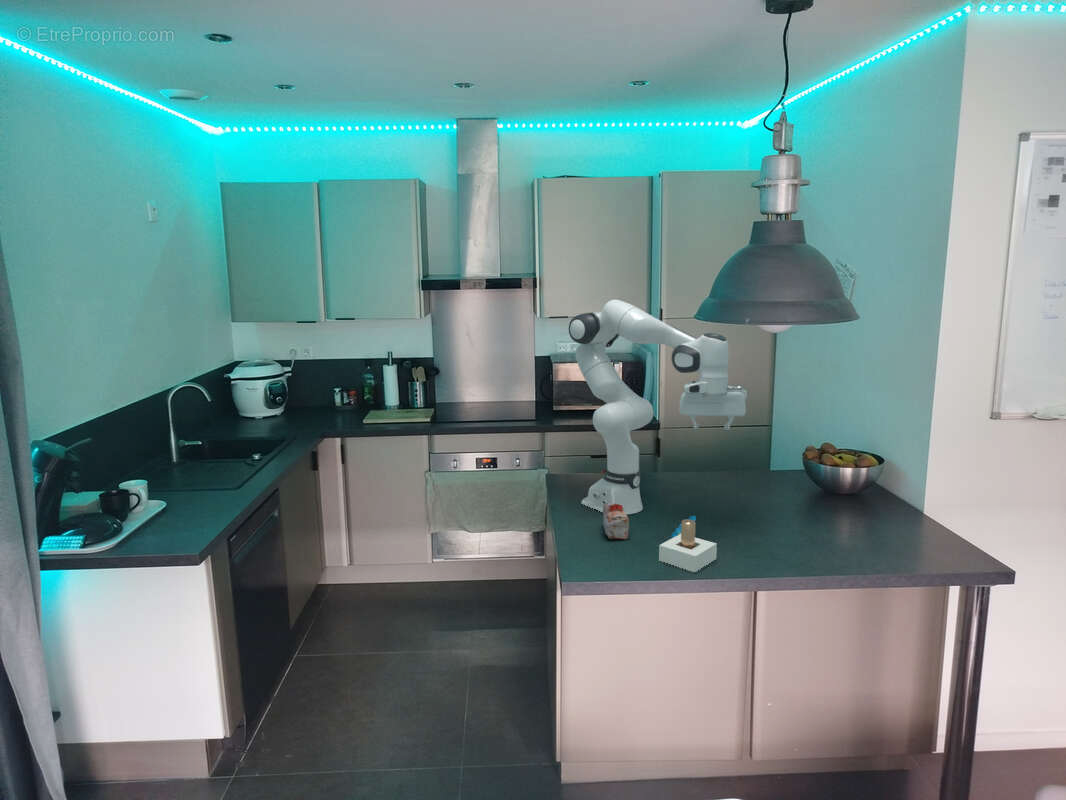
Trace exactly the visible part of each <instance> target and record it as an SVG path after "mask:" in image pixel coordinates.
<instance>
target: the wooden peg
mask: <svg viewBox="0 0 1066 800" xmlns="http://www.w3.org/2000/svg"><path fill="white" fill-rule="evenodd" d="M680 524H681V547H684V548H688V549H691V550H692V549H693V548H695V537H696V520H695V521H694V520H690V519H689V518H686V519H682V520H681V523H680Z"/></svg>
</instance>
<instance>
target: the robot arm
mask: <svg viewBox="0 0 1066 800" xmlns="http://www.w3.org/2000/svg"><path fill="white" fill-rule="evenodd" d="M568 334H569V336H570V339H571V340H572V341H574V342H575V343H577V344H579V345H578V346H577V348H576V350H575V352H574V355H575V356H574V357H575V360H576V364H577V365H578V368H579V370H580V372H581V375H582V377H583V378H584V380H585V382H586V383H587V385H588V388H589V390H590V391H591V393H592V394H593V396H595V398H597V399H600V400H602V401H603V402H604V403H605V404H603V405H602V406H600V407H598V408H597V409H595V411H594V412H593V415H592V424H593V427H594V429H595V431H597V433H598V434H600V435H601V436H602V438H603V440H604V442H605V446H606V454H607V455H606V459H607V460H606V462H607V463H606V464H607V466H606V468H605V469H603V470H601V471H600V472H601V473H600V474H601V475H602V474H603V477H602V478H601V479H599V480H598V481H597V482H595V483H594V484H592V485H591V486H590V487H589V489H588V491H587V492H588V493H587V496H586V497H585V498H583V499H582V500H581V502H580V503H581V505H582V504H583V505H582V506H584V505H585V506H584V507H587V506H588V507H587V508H589V507H590V509H592V508H593V509H592V510H594V509H596V510H598V511H597V512H599V511H600V513H601V512H602V513H601V514H603V505H604V504H608V503H618V504H620V505H622V507H623V509H625V510H624V511H625V513H626V514H627V515H632V514H634V515H635V514H637V513H639V512H642V510H643V509H644V508H643V507H644V506H643V503H642V498H641V492H640V483H641V471H640V470H641V469H640V449H639V447H638V446H637V444H635V443H633V441H632V439H631V431H635V430H639V429H641V428H643V427H645V426H646V425H648V424H649V423H650V422H651V421H652V420H653V418H654V409H653V405H652V404H651V402H650V401H649V400H647V399H645V398H643V397H641V396H639V395H638V394H637V393H635V392H634V391H633V390H632V389H631V388H630V387H629V386H628V385H627V384H626V383H625V382H624V380H622V378H621V376H620V374H619V373H618V371H617V369H616V368H615V366H614V365H613V363H612V361H611V359H610V358H609V356H608V353H606V352H607V351H606V348H610V347H611V346H613V344H614V342H615V341H616V340H617V339H618V338H619V337H622V338H623V339H625V340H627V341H629V342H631V343H635V344H639V345H641V344H642V345H645V344H650V345H651V344H659V345H664V346H665V345H666V346H668V347H670V348H673V350H672V353H671V364H672V366H673V368H674V369H675V370H676V371H677V372H678V373H681V374H691V373H697V374H698V379H696V380H693V381H689V382H688V381H687V382H686V383H685V384H684V385H683V390H684V391H683V392H682V393H681V395H680V399H679V409H678V412H679V413H680V415H681V416H690V420H691V422H692V423H693V430H699V427H700V423H699V422H696V420H695V419H696V416H697V417H698V416H704V417H707V416H708V417H709V416H710V417H711V416H712V417H713V416H714V417H728V420H727V422H726V423H723V425H724V427H723V428H724V430H725V431H730V428H731V424H732V423H733V422H734V418H735V417H744V416H745V415H746V413H747V411H746V410H747V407H746V406H747V405H746V399H748V390H747V389H746V388H745V387H743V386H742V385H738V386H735V385H733V386H731V385H729V373H728V365H729V360H730V356H729V355H730V354H729V353H730V352H729V349H730V348H729V343H728V339H727V338H726V337H725V336H724V335H722V334H718V333H713V332H712V333H711V332H707V333H706V332H705V333H702V334H701V336H699V337H696V336H693V335H690V334H689V333H687V332H685V331H683V330H681V329H679V328H676V327H675V326H672V325H670V324H668V323H666V322H663V321H662V320H660V319H658V318H656V317H654V316H653V315H651V314H649V313H647V312H646V311H645V310H642V309H641V308H639V307H637V306H635V305H633V304H631V303H629V302H626V301H623V300H619V299H611V300H609V301H607V302H606V303H605V304H604V305H603V307H602V310H601V311H594V312H584V313H580V314H577V315H576V316H573V317H572V318H571V320H570V322H569V324H568ZM596 510H595V511H596Z"/></svg>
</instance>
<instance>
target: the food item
mask: <svg viewBox="0 0 1066 800" xmlns="http://www.w3.org/2000/svg"><path fill="white" fill-rule="evenodd" d="M624 510H625V509H623V507H622V505H620V504H618V503H608V504H604V505H603V513H602V525H603V528H604V534H605V535H606V536H607V537H608V539H611V540H628V538H629V529H630V519H629V517H628V514H626V513H625V511H624Z"/></svg>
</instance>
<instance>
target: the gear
mask: <svg viewBox="0 0 1066 800" xmlns="http://www.w3.org/2000/svg"><path fill="white" fill-rule="evenodd" d="M696 518H697V517H696V516H695V515H693V516H692V515H691V516H689V517H688V519H690V520H694V521H695V522H696V520H697V519H696ZM679 534H681V523H680V524H679V527H676V529H675V530H674V532H672V533H671V536H670V538H671V539H672V538H674V537H676V536H677V535H679ZM695 538H697V537H696V536H695Z"/></svg>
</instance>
